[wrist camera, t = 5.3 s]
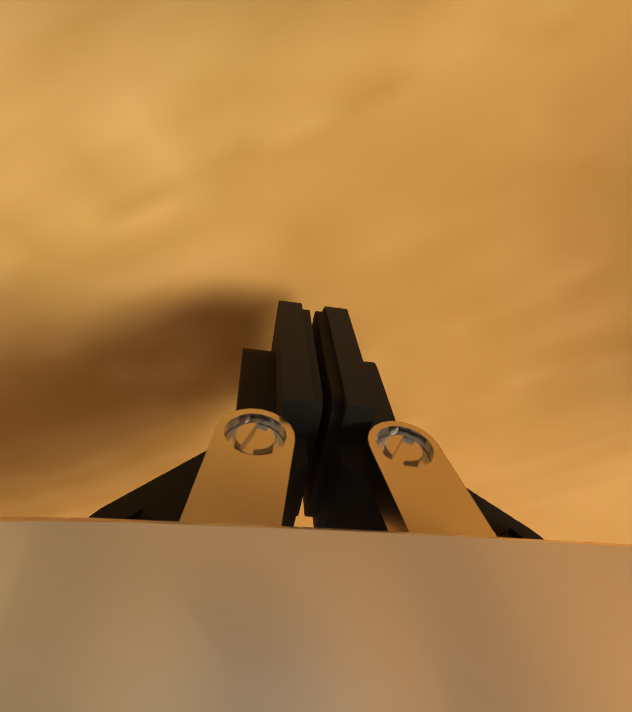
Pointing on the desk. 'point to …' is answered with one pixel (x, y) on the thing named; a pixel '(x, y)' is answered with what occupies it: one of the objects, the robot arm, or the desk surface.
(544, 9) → the desk surface
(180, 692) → the robot arm
